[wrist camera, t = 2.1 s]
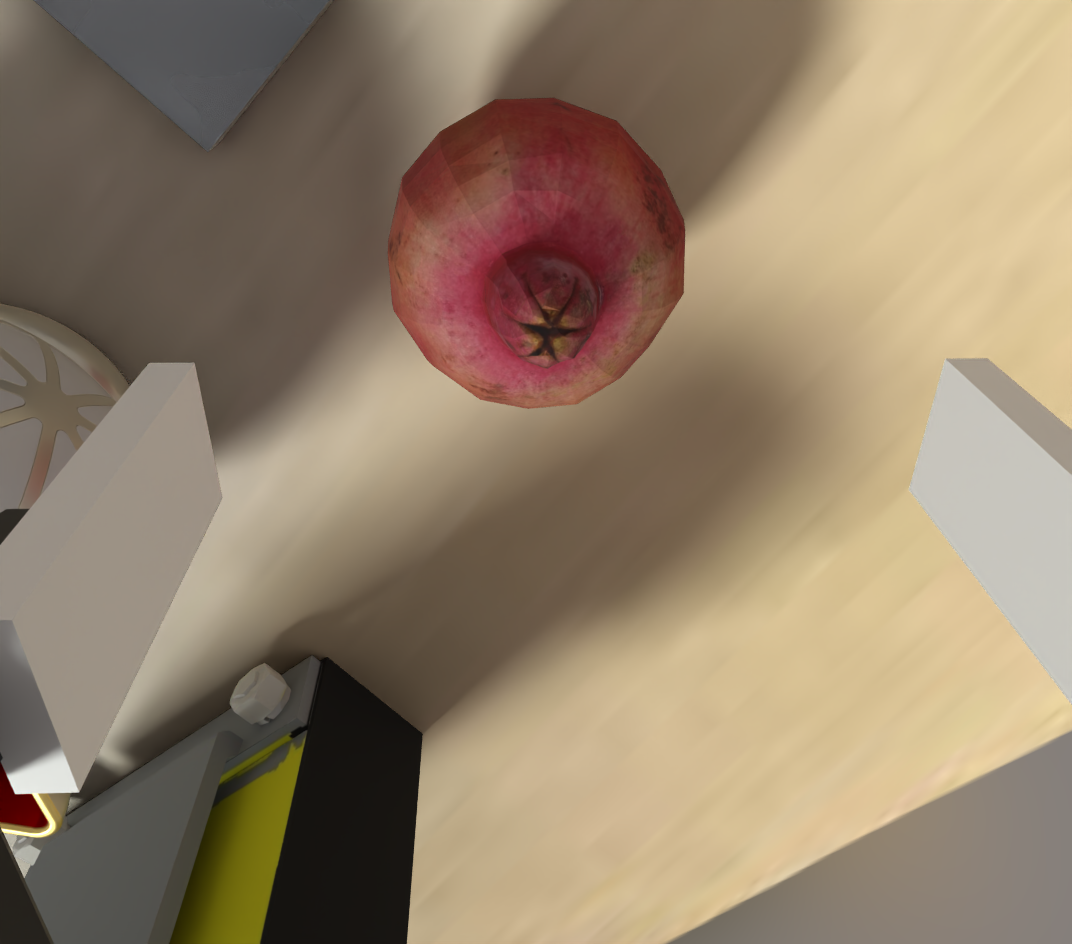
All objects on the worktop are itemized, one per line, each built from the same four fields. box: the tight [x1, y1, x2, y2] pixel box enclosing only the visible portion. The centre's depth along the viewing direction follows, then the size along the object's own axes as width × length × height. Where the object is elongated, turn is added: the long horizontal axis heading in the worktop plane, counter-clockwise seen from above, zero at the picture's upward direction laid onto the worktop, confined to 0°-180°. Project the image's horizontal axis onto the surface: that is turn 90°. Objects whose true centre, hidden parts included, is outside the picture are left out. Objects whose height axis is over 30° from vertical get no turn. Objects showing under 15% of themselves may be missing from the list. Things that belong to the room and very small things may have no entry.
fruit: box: [388, 98, 685, 409], centre depth 23 cm, size 8×8×10 cm
